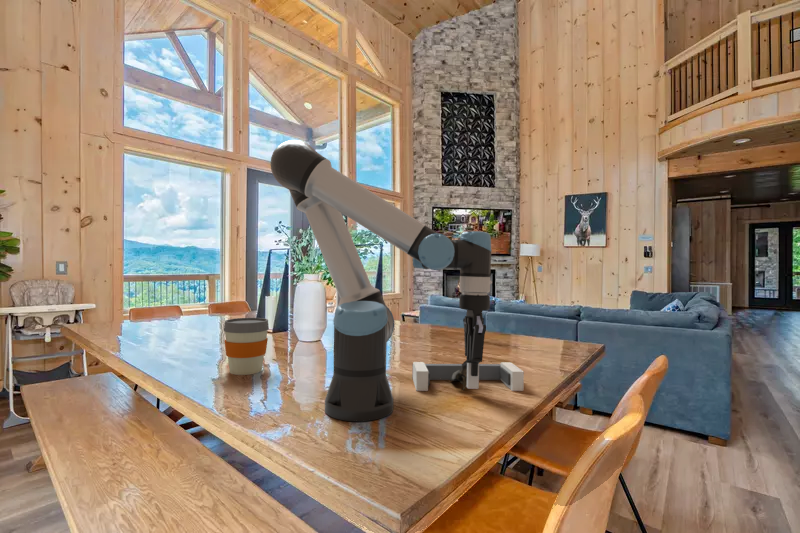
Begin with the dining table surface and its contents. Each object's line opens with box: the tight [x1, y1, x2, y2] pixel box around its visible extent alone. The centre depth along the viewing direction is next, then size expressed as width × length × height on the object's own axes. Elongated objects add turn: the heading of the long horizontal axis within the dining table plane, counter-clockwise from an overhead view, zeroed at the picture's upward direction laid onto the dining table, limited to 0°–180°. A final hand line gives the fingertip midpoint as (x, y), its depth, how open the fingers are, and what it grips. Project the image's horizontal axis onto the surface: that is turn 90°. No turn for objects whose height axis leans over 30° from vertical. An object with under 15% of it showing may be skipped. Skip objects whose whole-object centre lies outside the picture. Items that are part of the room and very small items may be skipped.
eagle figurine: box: [449, 360, 467, 391], centre depth 108 cm, size 8×7×9 cm
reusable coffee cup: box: [223, 317, 270, 376], centre depth 119 cm, size 13×13×15 cm
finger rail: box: [411, 361, 525, 392], centre depth 109 cm, size 28×12×5 cm, turn 93°
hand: (472, 387), depth 100 cm, fingers closed
